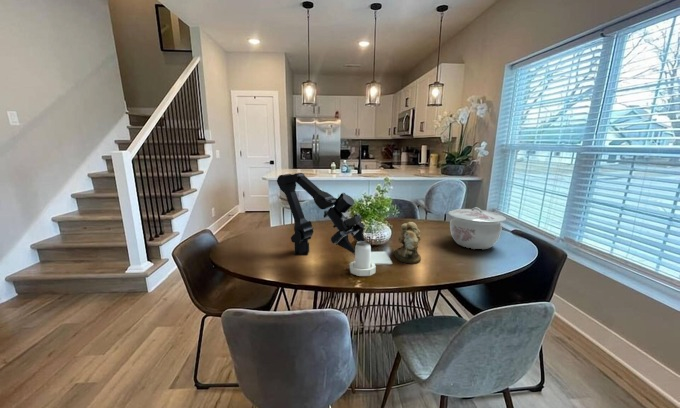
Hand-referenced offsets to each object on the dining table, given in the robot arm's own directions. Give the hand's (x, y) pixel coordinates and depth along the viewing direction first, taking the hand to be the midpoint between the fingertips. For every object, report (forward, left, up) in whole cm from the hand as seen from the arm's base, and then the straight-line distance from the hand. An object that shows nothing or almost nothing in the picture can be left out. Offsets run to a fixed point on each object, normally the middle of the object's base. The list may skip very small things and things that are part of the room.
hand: (360, 249), depth 119 cm
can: (+1, -1, -9) cm, 9 cm away
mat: (+8, +12, -9) cm, 17 cm away
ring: (+1, -1, -9) cm, 9 cm away
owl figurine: (+24, +14, -9) cm, 29 cm away
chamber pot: (+64, +29, -9) cm, 71 cm away
